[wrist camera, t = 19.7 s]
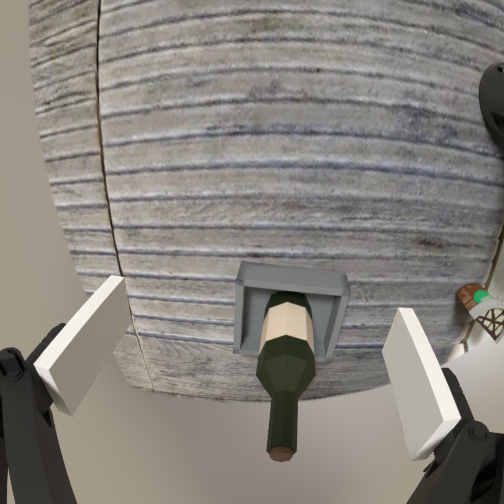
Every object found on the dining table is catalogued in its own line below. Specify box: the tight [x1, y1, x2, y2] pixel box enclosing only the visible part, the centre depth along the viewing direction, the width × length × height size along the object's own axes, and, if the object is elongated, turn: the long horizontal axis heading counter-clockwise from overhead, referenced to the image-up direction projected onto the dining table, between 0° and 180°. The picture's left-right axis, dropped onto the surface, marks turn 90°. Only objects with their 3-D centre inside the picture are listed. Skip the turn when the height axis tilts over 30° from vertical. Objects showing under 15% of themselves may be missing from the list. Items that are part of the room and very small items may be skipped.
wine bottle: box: [256, 290, 316, 462], centre depth 43 cm, size 8×8×30 cm
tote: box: [233, 261, 351, 363], centre depth 55 cm, size 18×16×6 cm
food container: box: [456, 283, 504, 344], centre depth 48 cm, size 12×6×10 cm, turn 55°
